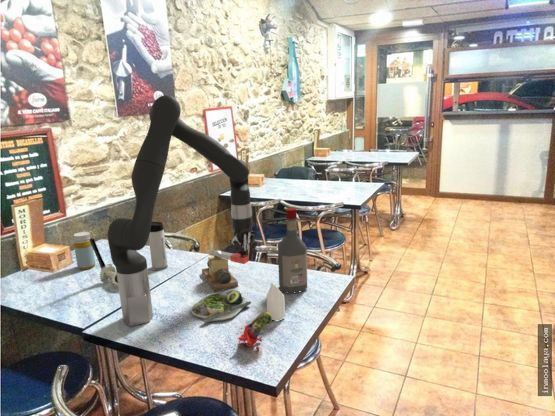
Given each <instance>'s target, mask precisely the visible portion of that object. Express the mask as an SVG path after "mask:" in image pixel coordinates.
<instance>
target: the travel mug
mask: <svg viewBox="0 0 555 416" xmlns="http://www.w3.org/2000/svg"><path fill="white" fill-rule="evenodd" d="M148 244H149V251H150V253H149V254H150V261H151V269H152V270H154V271H163V270H165V269H167V268H168V259H167V257H168V256H167V249H166V240H165V229H164V223H162V222H160V221H152V224H151V229H150V234H149V238H148Z"/></svg>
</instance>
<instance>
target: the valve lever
mask: <svg viewBox="0 0 555 416" xmlns="http://www.w3.org/2000/svg"><path fill="white" fill-rule="evenodd" d="M213 256H214V257H215V258H224V259H228V261H229V260H230V262H232V263H238V264H243V265H245V264H247V263H248V262H249V261H250V260H249V259H250V257H249V256H248V255H243V254H241V253H237V252H235V253H232V252H227V251H222V250H221V249H215V250H213Z"/></svg>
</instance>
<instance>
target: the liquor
mask: <svg viewBox="0 0 555 416" xmlns="http://www.w3.org/2000/svg"><path fill="white" fill-rule="evenodd" d="M297 214H298V213H297V208H296V207H288V208H286V209H285V215H286V232H285V233H286V235H285V236H284V237H283V238H282V239H281V240H280V241H279V243H278V245H277V259H278V263H277V264H278V265H277V266H278V283H279V284H278V285H279V287H280V289H281V288H282V289H281V290H282V291H283V293H284V292H288V293H294V292H299V291H304V290H305V289H306V290H307V288H308V247H307V245H306V243H305V242H304V241H303V240H302V239H301V238H300V236H299V235H298V230H297V229H298V228H297V217H298V216H297ZM306 290H305V291H306ZM305 291H304V292H305ZM288 293H287V294H288ZM294 294H295V293H294Z"/></svg>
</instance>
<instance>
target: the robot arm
mask: <svg viewBox="0 0 555 416" xmlns="http://www.w3.org/2000/svg"><path fill="white" fill-rule="evenodd" d="M181 109H182V108H181V106H180V103H179V101H178V100H177V98H175V97H174V96H172V95H170V94H163V95H161V96H159V97H156V99H155V100H154V101H153V103H152V105H151V107H150V110H149V114H148V115H149V121H150V123H149V126H148V131H147V132H146V136H145V139H144V140H143V142H142V144H141V146H140V148H139V151H138V153H137V156H136V158H135V162H134V165H133V169H132V170H131V172H132V173H131V177H130V178H131V184H132V188H133V192H134V196H135V207H134V212H133V216H132V218H125V217H123V218H121V217H120V218H116V219H114V220H112V221H111V223H110V225H109V226H108V229H107V242H108V246H109V247H108V248H109V253H110V257H111V262H112V265H113V266H115V267H114V268H115V270H116V272H117V279H118V287H119V289H118V293H119V299H120V306H121V312H122V313H121V314H122V321H123V323H124V324H125V325H128V326H129V327H134V326H138V325H142V324H146V323H150V322H151V320H152V318H153V317H154V311H153V303H152V297H151V286H150V278H149V271H148V262H147V258H146V257H145V256H144V255H143V254H141V253H140V252H138V251H139V250H142V249H143V248H144V247H145V246H146V245H147V243H148V242H149V234H150V229H151V224H152V222H153V218H154V217H153V215H154V211H155V205H156V202H157V197H158V194H159V190H160V186H161V183H162V181H163V176H164V173H165V170H166V164H167V160H168V155H169V150H170V145H171V140H172V139H171V138H172V137H174V138H176V139H178V141H181V142H182V143H184V144H185V145H187V146H188V147H190V148H191V149H193V150H195V151H196V152H197V153H198V154H200V155H201V156H203V158H205V159H207V160H208V161H209V162H211V163H212V164H213V165H214V166H216V167H218V169H220V170H221V171H222V172H223V173H224V174H225V175H226V176H227V177H228V178H229V183H230V201H231V202H230V206H231V207H230V212H231V225H232V228H233V230H234V233H233V236H234V237H233V238H232V239H230V240H229V243H230V244H231V245H232V246H233V248H234V249H235V250H236V251H240V254H243V255H248V256H249V249H250V247H252V245H253V243H254V241H255V237H256V235H257V231H254V230H253V228H252V227H253V226H254V223H253V221H254V220H253V209H252V201H251V191H250V188H249V187H250V186H249V175H250V169H249V167H248V164H247V163H246V162H245V161H244V160H241V159H238V158H237V157H236V156H235V155H233V154H232V153H231V152H230V151H229V150H228V149H227V148H226V147H225V146H224V145H222V143H220V142H219V141H217V140H216V139H215V138H213V137H212V136H210V135H208V134H206V133H204V132H201V131H199V130H196V129H195V128H193V127H191V126H189V125H188V124H187V123H185V122H184V121H183V120H182V119H181V118H180V116H181V111H182V110H181Z"/></svg>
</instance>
